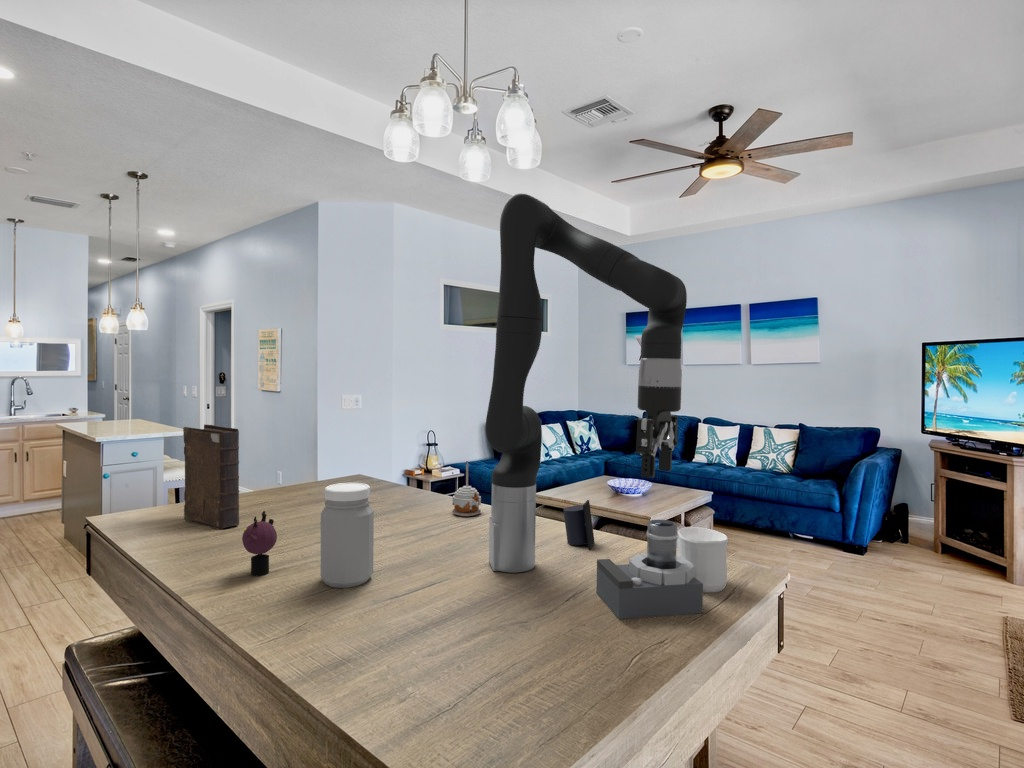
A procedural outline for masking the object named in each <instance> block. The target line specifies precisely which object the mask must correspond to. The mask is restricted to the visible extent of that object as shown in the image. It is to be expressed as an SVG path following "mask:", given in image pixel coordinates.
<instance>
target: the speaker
mask: <svg viewBox="0 0 1024 768" xmlns="http://www.w3.org/2000/svg"><path fill="white" fill-rule="evenodd" d="M563 517H564V525H565V534H566V540H567V541H566V542H567V544H568V545H571V546H582V545H586V544H587V547H588V550H589V551H591V550H592V548H593V547H594V545H595V544H596V543H595V536H594V528H593V519H592V513H591V503H590V499H587V500H585V502H584V503H583V504H580V505H572V506H567V507H565V508H564V509H563Z"/></svg>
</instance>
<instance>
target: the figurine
mask: <svg viewBox="0 0 1024 768" xmlns="http://www.w3.org/2000/svg"><path fill="white" fill-rule="evenodd" d="M267 515H268V514H267V513H266V510H263V511H262V512H261V520H260V521H258V519H257V516H254V518H253V523H251V524H250V525H248V526H247V527H246V528H245V527H244V528H243V529H242V530H243V534H242V535H241V536H242V539H241V540H242V545H243V547H244V549H245V550H246V552H248V553H249V554H253V555H252V556H251V558H250V575H251V576H253V577H262V576H266V575H268V574H269V573H270V556H269V554H266V553H268V552H270V550H272V549H273V548H274V547H275V545H276V543H277V539H278V534H277V530H276V529H275V527H274V523H275V522H274V521H275V520H274V519H272V518H269V519H268V522H267V521H266V520H267Z"/></svg>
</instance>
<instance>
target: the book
mask: <svg viewBox="0 0 1024 768" xmlns="http://www.w3.org/2000/svg"><path fill="white" fill-rule="evenodd" d="M182 429H183V430H182V432H183V433H182V434H183V444H184V446H183V454H184V492H183V495H184V496H183V499H184V506H183V507H184V508H183V520H184V521H186V522H188V523H192V524H193V523H194V524H199V525H203V526H208V527H210V528H212V529H215V530H222V529H225V528H230V527H235V526H237V525H238V526H239V525H240V504H239V503H240V501H239V500H240V490H239V489H240V487H239V486H240V482H239V481H240V479H239V478H240V475H239V474H240V473H239V469H240V468H239V464H240V460H239V459H240V457H239V455H240V454H239V452H240V449H239V448H240V445H239V444H240V439H239V438H240V436H239V435H240V431H239V429H238V428H233V427H224V426H217V425H212V424H204V425H203V428H197V427H189V426H184V427H182Z"/></svg>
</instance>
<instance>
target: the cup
mask: <svg viewBox="0 0 1024 768" xmlns="http://www.w3.org/2000/svg"><path fill="white" fill-rule="evenodd" d="M677 533H678V539H677V552H676V556H680V557H681V558H685V559H686V560H688V561H689V562H691V563H692V564H694V578H696V579H697V580H698V581H700V582H701V583H703V593H706V594H707V593H710V594H711V593H719V592H723V590H724V589H725V588H726V586H727V583H728V581H727V580H728V565H727V564H728V562H727V550H728V549H727V548H728V545H729V538H728V536H727V535H726V534H724V533H723V532H720V531H717V530H714V529H710V528H706V527H701V526H685V527H681V528H679V529H678V530H677Z"/></svg>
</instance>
